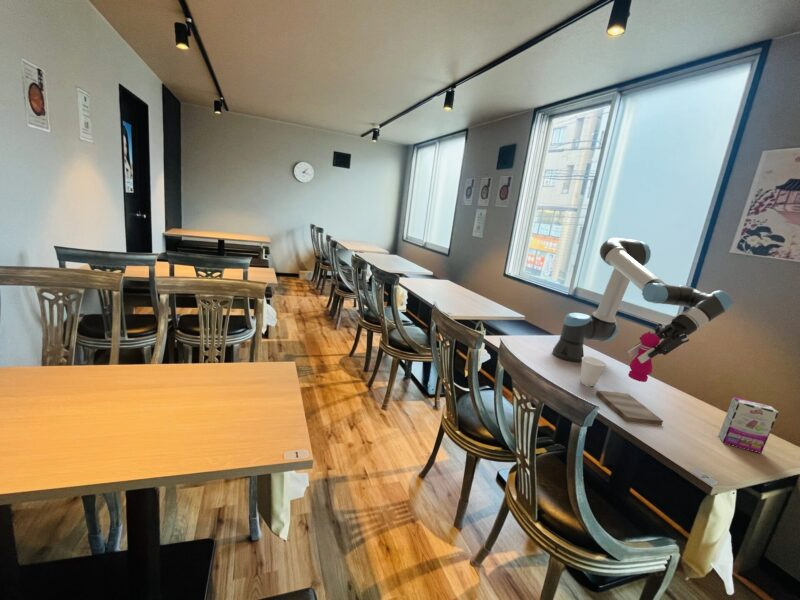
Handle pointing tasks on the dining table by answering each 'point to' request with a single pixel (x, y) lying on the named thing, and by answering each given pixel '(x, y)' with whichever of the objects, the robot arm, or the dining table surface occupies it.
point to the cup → (591, 370)
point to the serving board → (629, 408)
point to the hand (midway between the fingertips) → (634, 357)
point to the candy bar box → (747, 424)
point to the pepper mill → (645, 368)
